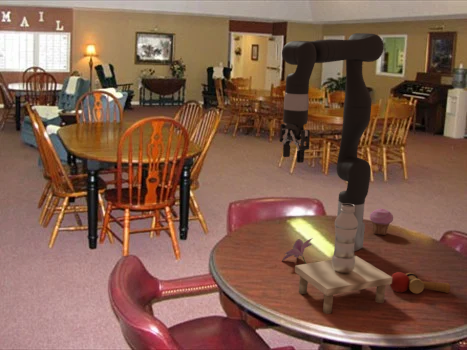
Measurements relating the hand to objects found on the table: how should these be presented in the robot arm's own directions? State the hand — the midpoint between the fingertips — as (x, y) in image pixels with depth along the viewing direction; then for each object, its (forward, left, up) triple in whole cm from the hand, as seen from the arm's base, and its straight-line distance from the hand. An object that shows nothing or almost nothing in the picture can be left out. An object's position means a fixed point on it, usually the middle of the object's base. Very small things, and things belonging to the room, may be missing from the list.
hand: (292, 159), depth 178 cm
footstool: (-4, +25, -36) cm, 44 cm away
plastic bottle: (-4, +25, -28) cm, 38 cm away
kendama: (-29, +30, -37) cm, 55 cm away
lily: (-5, -2, -36) cm, 37 cm away
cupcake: (-51, -16, -36) cm, 65 cm away
